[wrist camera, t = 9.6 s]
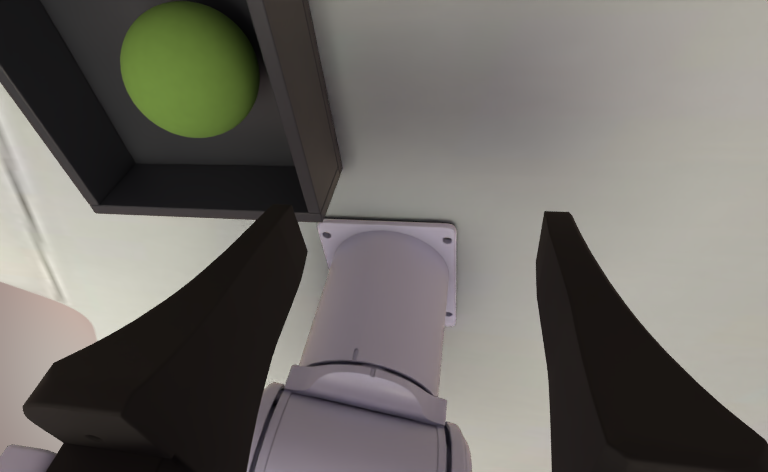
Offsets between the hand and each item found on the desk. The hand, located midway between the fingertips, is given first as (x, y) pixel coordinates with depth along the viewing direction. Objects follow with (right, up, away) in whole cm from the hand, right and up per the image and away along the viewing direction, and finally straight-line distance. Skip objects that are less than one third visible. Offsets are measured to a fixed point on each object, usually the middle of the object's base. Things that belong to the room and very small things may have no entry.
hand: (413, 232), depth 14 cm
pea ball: (-10, +8, +6) cm, 14 cm away
